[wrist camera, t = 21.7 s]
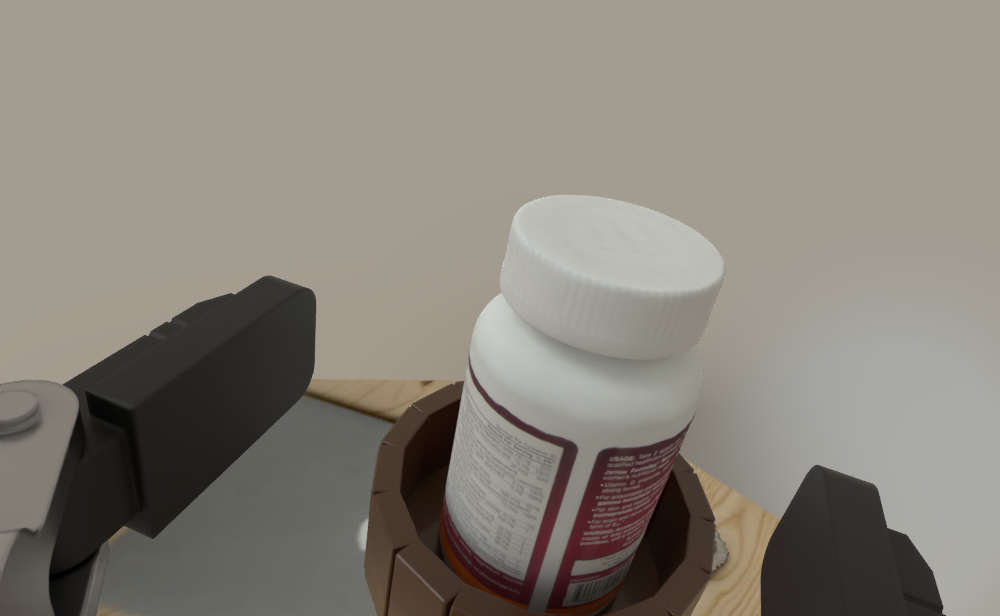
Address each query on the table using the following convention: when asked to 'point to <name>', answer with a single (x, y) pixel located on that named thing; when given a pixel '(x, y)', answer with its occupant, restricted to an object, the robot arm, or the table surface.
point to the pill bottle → (576, 400)
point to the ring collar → (471, 612)
